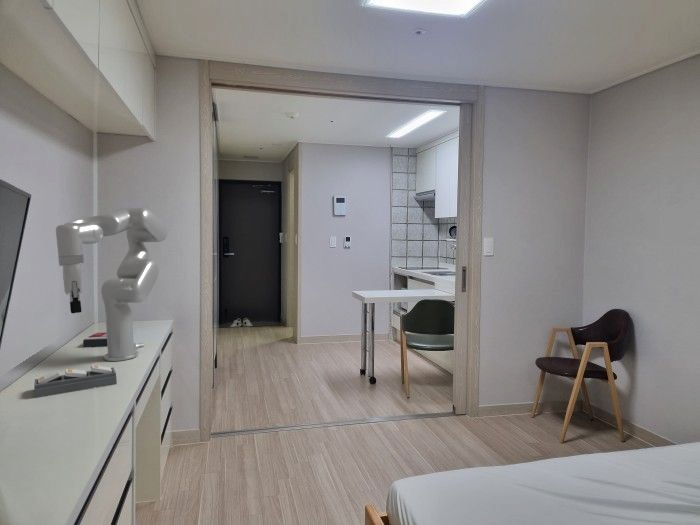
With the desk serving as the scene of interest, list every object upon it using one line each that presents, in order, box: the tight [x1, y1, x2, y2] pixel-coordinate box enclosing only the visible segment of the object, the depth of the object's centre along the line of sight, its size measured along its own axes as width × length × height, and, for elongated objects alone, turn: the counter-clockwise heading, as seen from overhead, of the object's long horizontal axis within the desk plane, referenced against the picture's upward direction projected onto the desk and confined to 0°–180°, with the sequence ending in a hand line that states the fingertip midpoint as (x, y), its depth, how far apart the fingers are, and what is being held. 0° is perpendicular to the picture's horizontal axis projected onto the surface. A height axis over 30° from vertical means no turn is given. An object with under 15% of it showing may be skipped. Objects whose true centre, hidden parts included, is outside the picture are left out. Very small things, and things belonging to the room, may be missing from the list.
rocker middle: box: [64, 368, 87, 377], centre depth 161 cm, size 6×4×1 cm
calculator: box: [82, 331, 107, 349], centre depth 221 cm, size 11×4×15 cm
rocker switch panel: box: [33, 367, 118, 398], centre depth 162 cm, size 23×9×4 cm, turn 122°
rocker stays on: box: [37, 369, 61, 384], centre depth 157 cm, size 6×4×1 cm
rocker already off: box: [90, 364, 112, 374], centre depth 165 cm, size 6×4×1 cm
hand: (76, 312), depth 172 cm, fingers closed
